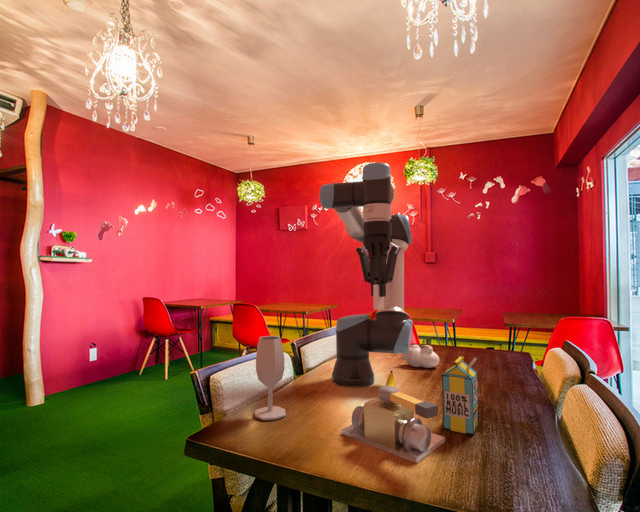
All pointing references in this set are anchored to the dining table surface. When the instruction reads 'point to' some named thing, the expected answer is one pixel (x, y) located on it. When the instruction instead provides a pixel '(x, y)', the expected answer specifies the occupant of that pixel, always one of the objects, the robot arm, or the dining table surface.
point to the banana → (390, 380)
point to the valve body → (392, 430)
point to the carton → (460, 398)
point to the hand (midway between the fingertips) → (378, 308)
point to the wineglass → (270, 373)
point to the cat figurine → (421, 356)
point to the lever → (408, 402)
